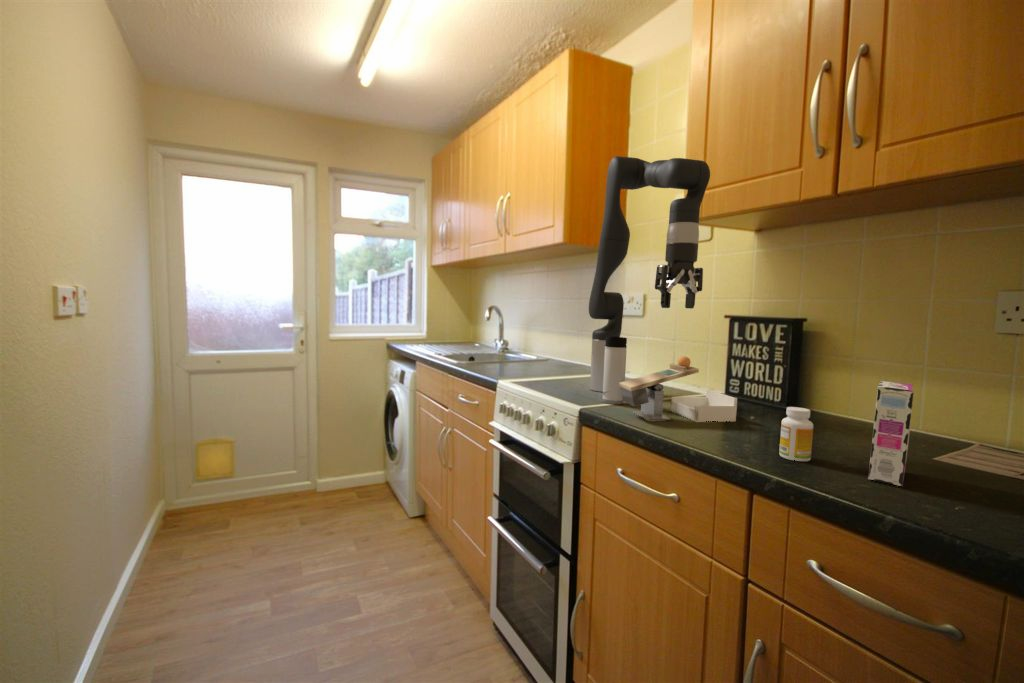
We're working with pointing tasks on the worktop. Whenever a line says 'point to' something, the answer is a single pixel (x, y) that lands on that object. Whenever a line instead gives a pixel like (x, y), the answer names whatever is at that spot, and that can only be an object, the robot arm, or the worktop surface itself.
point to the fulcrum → (653, 404)
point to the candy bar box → (891, 432)
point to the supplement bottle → (796, 435)
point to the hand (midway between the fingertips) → (677, 308)
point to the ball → (684, 361)
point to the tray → (706, 407)
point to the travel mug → (614, 369)
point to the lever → (651, 383)
